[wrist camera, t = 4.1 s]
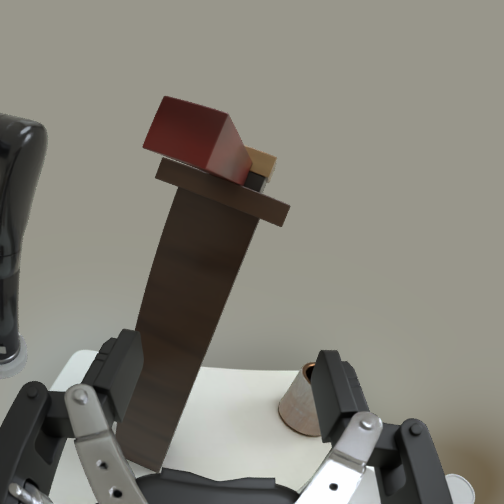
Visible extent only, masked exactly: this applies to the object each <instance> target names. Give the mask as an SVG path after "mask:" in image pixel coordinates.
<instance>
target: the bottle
mask: <svg viewBox="0 0 504 504" xmlns="http://www.w3.org/2000/svg"><path fill="white" fill-rule="evenodd" d="M445 478H446V481H447V484H448V487H449V490H450V494H451V497H452V500H453V504H474V501H475V493H474V490H473V488H472V486H471V485H470V483H469V482H468V481H467V480H466V479H464V478H463V477H461V476H459V475H456V474H448V475H446V476H445Z"/></svg>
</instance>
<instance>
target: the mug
mask: <svg viewBox="0 0 504 504" xmlns="http://www.w3.org/2000/svg"><path fill="white" fill-rule="evenodd" d="M365 467H367V469H366V472H365V474H364V476H363V477H362V479H361V481H360V483H359V485H358V487H357V488H356V490H355V492H354V494H353V495H352V497H351V499H350V500H349V502H348V504H381V501H380V496H379V491H378V486H377V481H376V476H375V471H374V467H371V466H365ZM310 479H311V478H310ZM310 479H309V480H310ZM309 480H308V481H309ZM308 481H307V482H306V483H305V484H304V485H303V486H302V487H301V488H300V489H299V490H298V491H296V492H297V493H300V492H301V490H302V489H303V488H304V486H305V485H306V484H307V483H308Z"/></svg>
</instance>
